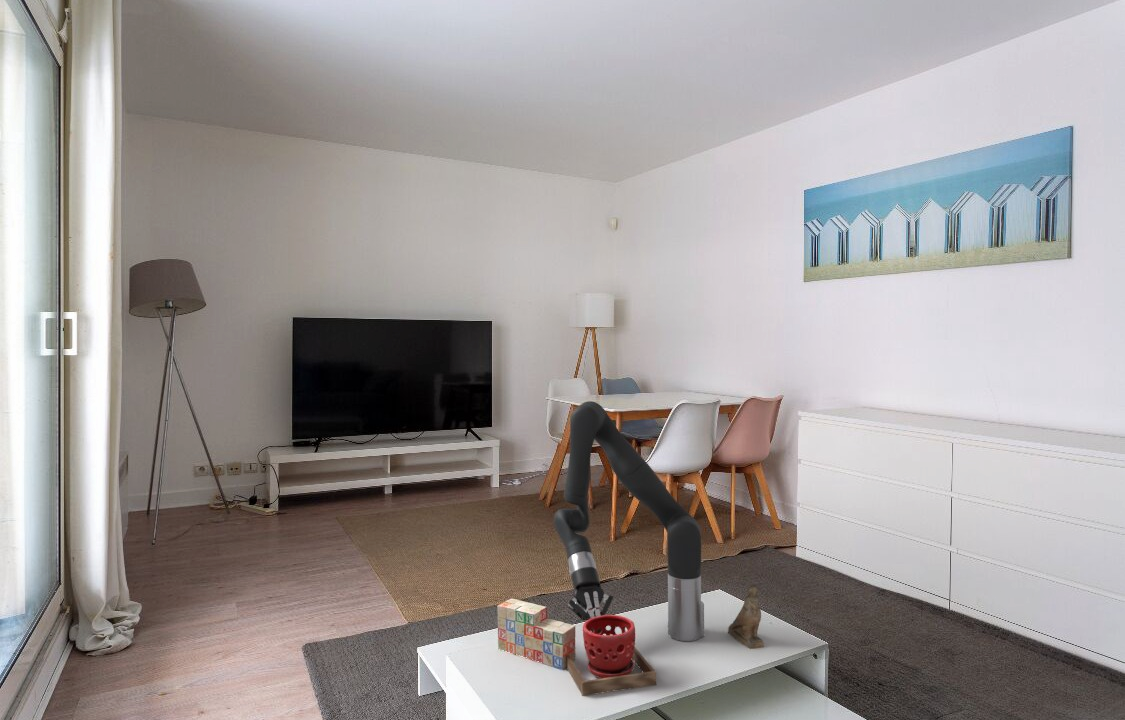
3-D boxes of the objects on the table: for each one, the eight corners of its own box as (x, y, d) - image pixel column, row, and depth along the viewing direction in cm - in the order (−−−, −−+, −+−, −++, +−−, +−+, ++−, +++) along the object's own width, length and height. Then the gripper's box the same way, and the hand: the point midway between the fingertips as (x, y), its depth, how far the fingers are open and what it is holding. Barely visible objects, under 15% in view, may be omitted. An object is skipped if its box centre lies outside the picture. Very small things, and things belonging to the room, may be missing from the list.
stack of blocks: (576, 661, 172) (575, 613, 171) (562, 670, 166) (562, 622, 166) (511, 641, 184) (511, 597, 183) (497, 649, 178) (496, 604, 178)
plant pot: (607, 654, 175) (607, 609, 175) (646, 671, 165) (646, 624, 165) (572, 671, 166) (572, 623, 166) (610, 690, 156) (610, 640, 156)
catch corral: (634, 658, 173) (634, 646, 173) (656, 684, 159) (656, 672, 159) (566, 667, 168) (566, 655, 168) (582, 695, 154) (582, 682, 154)
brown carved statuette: (763, 655, 179) (772, 595, 175) (745, 657, 178) (753, 597, 174) (742, 628, 190) (750, 572, 186) (725, 630, 189) (732, 573, 185)
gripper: (563, 568, 180) (576, 631, 169) (609, 563, 184) (625, 624, 172) (558, 581, 185) (571, 643, 174) (603, 576, 189) (618, 636, 177)
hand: (598, 633), depth 173 cm, fingers closed
